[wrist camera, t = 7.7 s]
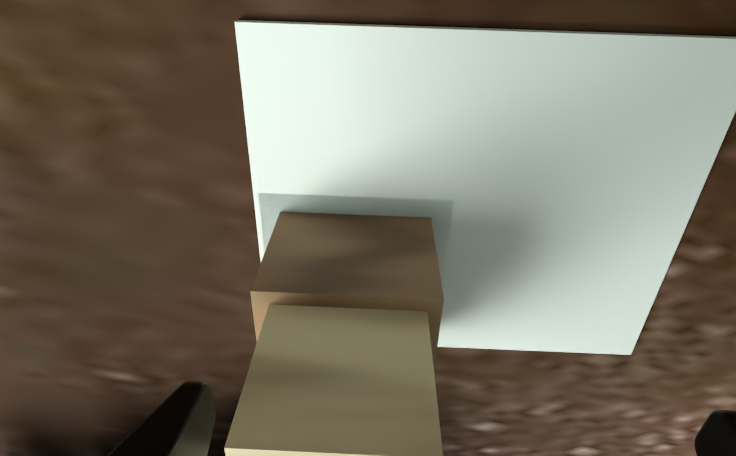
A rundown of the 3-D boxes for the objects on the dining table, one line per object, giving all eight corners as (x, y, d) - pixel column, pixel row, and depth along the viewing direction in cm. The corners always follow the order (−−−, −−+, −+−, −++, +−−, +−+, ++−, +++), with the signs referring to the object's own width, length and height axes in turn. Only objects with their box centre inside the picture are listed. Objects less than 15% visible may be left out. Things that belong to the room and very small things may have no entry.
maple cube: (414, 415, 18) (423, 565, 14) (279, 408, 18) (245, 557, 14) (427, 311, 15) (443, 458, 11) (269, 304, 15) (224, 448, 11)
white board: (758, 37, 16) (766, 39, 16) (627, 348, 23) (630, 354, 23) (237, 19, 16) (234, 21, 16) (270, 333, 23) (269, 339, 23)
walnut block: (431, 217, 19) (443, 298, 15) (418, 329, 22) (426, 423, 18) (280, 211, 19) (250, 291, 15) (288, 324, 23) (266, 417, 18)
